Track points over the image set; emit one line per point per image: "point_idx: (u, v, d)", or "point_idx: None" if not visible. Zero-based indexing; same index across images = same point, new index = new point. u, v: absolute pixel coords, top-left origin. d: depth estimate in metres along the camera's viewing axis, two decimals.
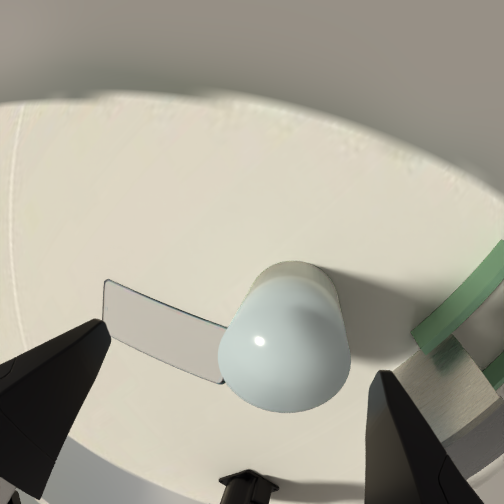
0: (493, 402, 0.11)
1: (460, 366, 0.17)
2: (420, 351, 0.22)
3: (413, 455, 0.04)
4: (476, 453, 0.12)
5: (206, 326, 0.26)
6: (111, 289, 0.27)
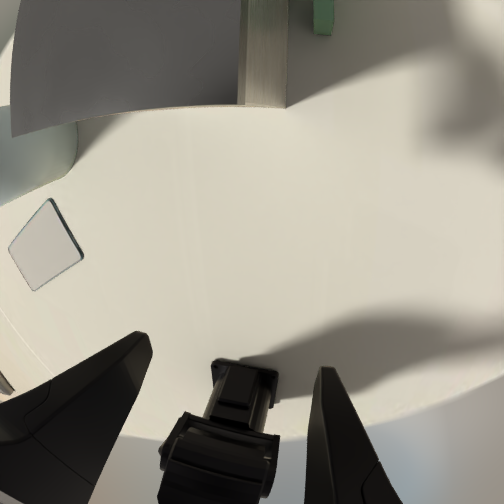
0: None
1: None
2: None
3: (336, 457, 0.04)
4: None
5: (40, 215, 0.23)
6: (12, 251, 0.27)
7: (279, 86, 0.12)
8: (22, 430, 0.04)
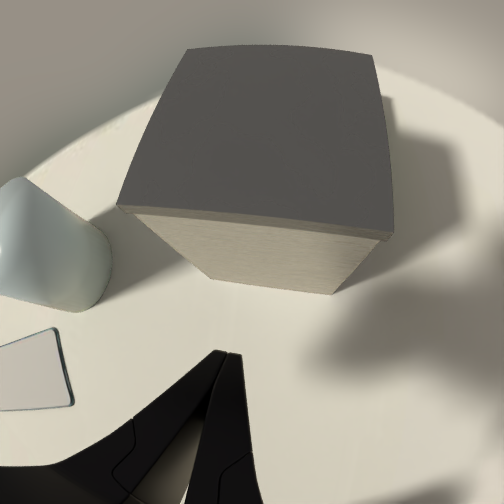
0: None
1: None
2: None
3: (207, 439, 0.05)
4: (265, 93, 0.09)
5: (36, 339, 0.20)
6: None
7: None
8: (115, 489, 0.03)
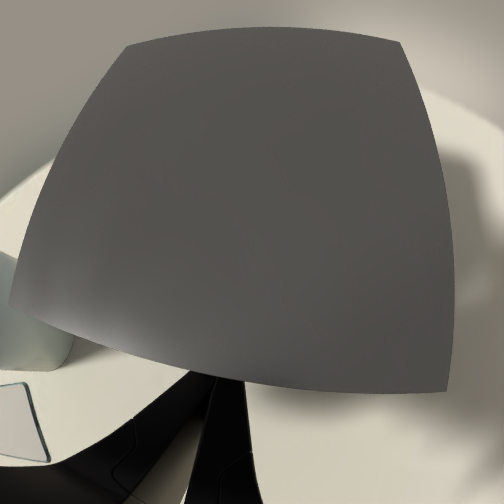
0: None
1: None
2: None
3: (207, 439, 0.05)
4: (224, 104, 0.05)
5: (9, 391, 0.15)
6: None
7: None
8: (115, 490, 0.03)
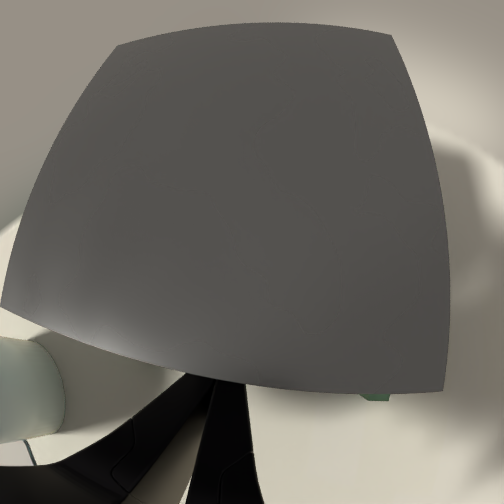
0: None
1: None
2: None
3: (208, 439, 0.05)
4: (212, 100, 0.05)
5: (10, 443, 0.14)
6: None
7: None
8: (114, 489, 0.03)
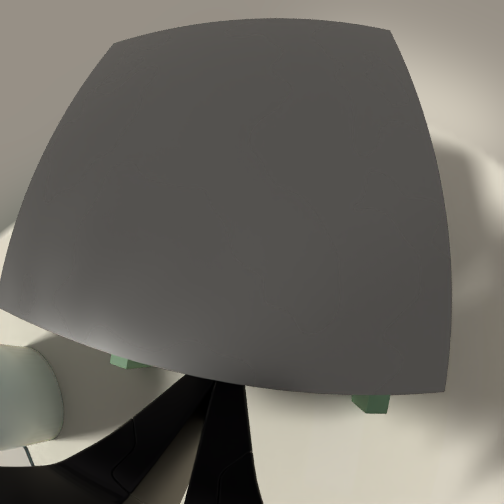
0: None
1: None
2: None
3: (207, 439, 0.05)
4: (207, 95, 0.05)
5: None
6: None
7: None
8: (115, 489, 0.03)
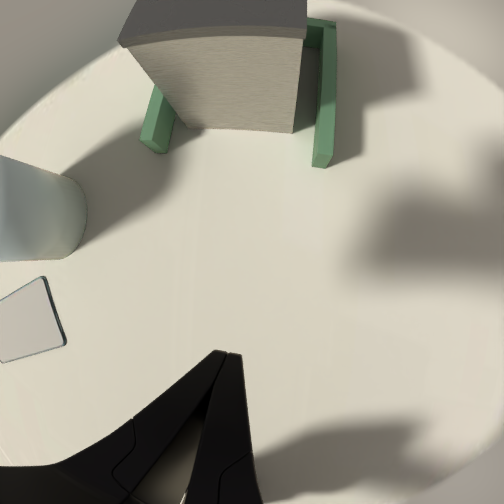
0: None
1: None
2: None
3: (207, 439, 0.05)
4: None
5: (28, 289, 0.22)
6: None
7: None
8: (115, 489, 0.03)
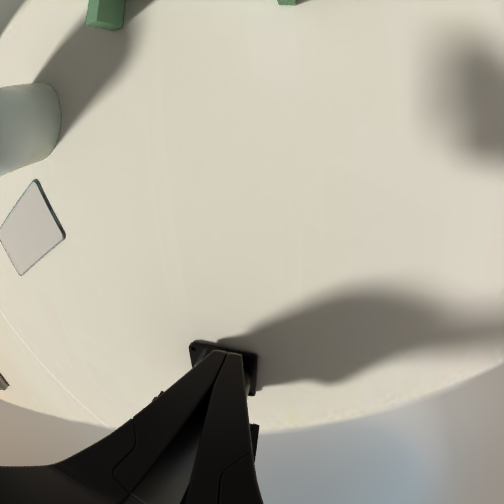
0: None
1: None
2: None
3: (207, 439, 0.05)
4: None
5: (26, 196, 0.22)
6: (1, 236, 0.27)
7: None
8: (115, 489, 0.03)
